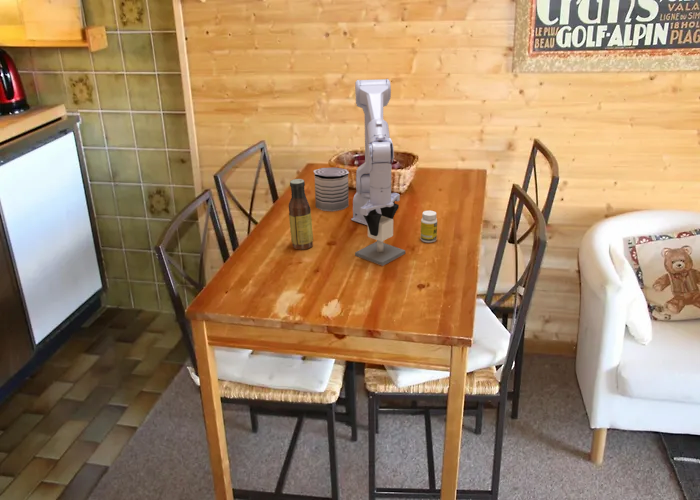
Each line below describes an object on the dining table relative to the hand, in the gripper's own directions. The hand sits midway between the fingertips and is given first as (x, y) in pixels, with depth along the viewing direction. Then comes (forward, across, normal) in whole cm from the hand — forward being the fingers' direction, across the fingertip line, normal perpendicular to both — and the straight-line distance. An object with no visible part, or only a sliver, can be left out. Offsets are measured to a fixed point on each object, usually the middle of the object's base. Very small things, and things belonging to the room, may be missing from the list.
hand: (380, 231), depth 196 cm
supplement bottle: (+7, +17, -4) cm, 19 cm away
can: (+7, +19, +36) cm, 41 cm away
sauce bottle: (+7, -10, +21) cm, 24 cm away
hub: (+1, 0, 0) cm, 1 cm away
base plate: (+7, 0, 0) cm, 7 cm away
